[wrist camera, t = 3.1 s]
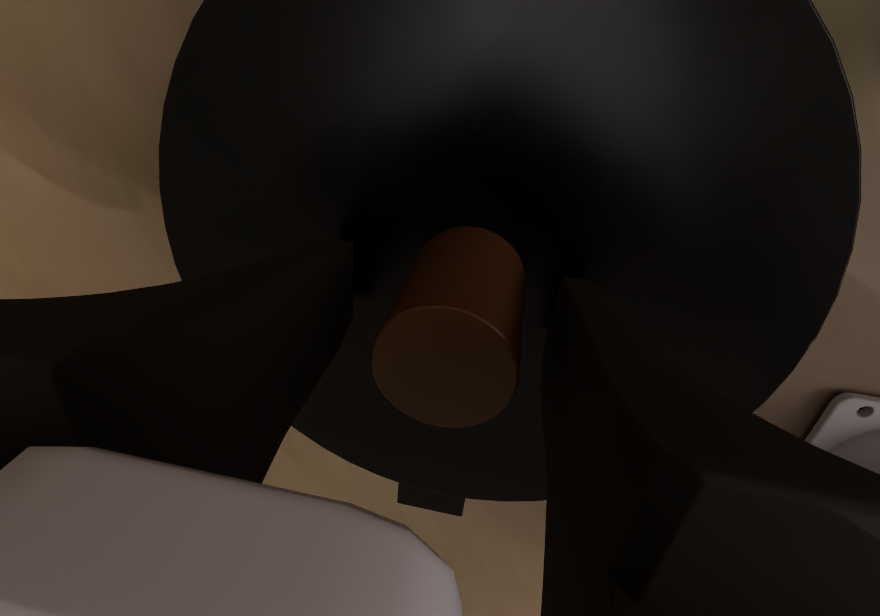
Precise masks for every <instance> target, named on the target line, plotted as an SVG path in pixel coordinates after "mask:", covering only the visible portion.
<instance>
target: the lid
mask: <svg viewBox="0 0 880 616" xmlns="http://www.w3.org/2000/svg"><path fill="white" fill-rule="evenodd" d="M159 181H160V195H161V202H162V208H163V215H164V222H165V228H166V232H167V236H168V239H169V243H170V247H171V250H172V254H173V258H174V262H175V265H176V267H177V270H178V272H179V275H180V277H181V280H182V281H184V280H189V279H193V278H198V277H202V276H206V275H210V274H213V273H217V272H221V271H224V270H227V269H230V268H234V267H237V266H240V265H243V264H246V263H250V262H253V261H256V260H259V259H262V258H265V257H268V256H271V255H274V254H276V253H279V252H282V251H285V250H288V249H291V248H293V247H296V246H299V245H302V244H305V243H308V242H311V241H314V240H318V239H322V238H335V239H341V240H347V241H353V319H352V321H351V323H350V326H349V328H348V330H347V333H346V335H345V337H344V340H343V342H342V344H341V346H340V348H339V350H338V352H337V354H336V355H335V357H334V358H333V360H332V362H331V363H330V365H329V366H328V368H327V369H326V371H325V373H324V374H323V376H322V377H321V379H320V380H319V382H318V384H317V385H316V387H315V388H314V390H313V391H312V393H311V394H310V396H309V397H308V399H307V401H306V402H305V404H304V405H303V407H302V408H301V410H300V411H299V413H298V415H297V416H296V418H295V419H294V421H293V423H292V424H291V426H293V427H294V428H295V429H297V430H298V431H300V432H301V433H302V434H304V435H305V436H307V437H308V438H310V439H311V440H313V441H314V442H316V443H317V444H319V445H320V446H322V447H323V448H325V449H327V450H329V451H330V452H332V453H334V454H336V455H338V456H339V457H341V458H343V459H345V460H346V461H348V462H350V463H352V464H355V465H357V466H359V467H361V468H364V469H366V470H368V471H370V472H372V473H375V474H377V475H379V476H382V477H385V478H388V479H391V480H394V481H396V482H399V483H402V484H405V485H408V486H412V487H415V488H419V489H423V490H427V491H431V492H435V493H439V494H445V495H451V496H457V497H463V498H469V499H479V500H492V501H542V500H547V473H546V458H545V445H544V432H543V419H542V405H541V390H540V385H541V368H542V355H543V348H544V344H545V340H546V336H547V332H548V328H549V324H550V320H551V316H552V312H553V308H554V304H555V301H556V297H557V293H558V289H559V285H560V281H561V277H562V276H567V277H574V278H580V279H586V280H590V281H592V282H593V283H594V284H595V285H596V286H597V287H598V288H599V289H600V290H601V292H602V293H603V294H604V295H605V296H606V297H607V298H608V299H609V300H610V301H611V302H612V303H613V305H614V306H615V307H616V308H617V309H618V310H619V311H620V312H621V313H622V314H623V315H624V316H625V317H626V318H627V319H628V320H629V321H630V322H631V323H632V324H633V325H634V326H635V327H636V328H637V329H638V330H639V331H640V332H641V333H642V334H643V335H644V336H645V337H646V338H647V339H649V340H650V341H651V342H652V343H653V344H654V345H655V346H656V347H658V348H659V349H660V350H661V351H662V352H663V353H664V354H666V355H667V356H668V357H669V358H671V359H672V360H673V361H674V362H676V363H677V364H678V365H680V366H681V367H682V368H684V369H685V370H686V371H688V372H689V373H691V374H692V375H693V376H695V377H696V378H697V379H699V380H700V381H702V382H703V383H704V384H706V385H707V386H709V387H710V388H712V389H713V390H715V391H716V392H718V393H720V394H721V395H723V396H725V397H726V398H728V399H730V400H731V401H733V402H734V403H736V404H738V405H739V406H741V407H743V408H744V409H746V410H748V411H749V412H751V413H753V412H754V411H755V410H756V409H757V408H759V407H760V406H761V405H762V404H763V403H764V402H765V401H766V400H767V399H768V398H769V397H770V396H771V395H772V394H773V392H774V391H775V390H776V389H777V388H778V387H779V386H780V385H781V384H782V382H783V381H784V380H785V379H786V378H787V377H788V376H789V375H790V374H791V372H792V371H793V370H794V369H795V367H796V366H797V364H798V363H799V361H800V360H801V358H802V357H803V355H804V354H805V353H806V351H807V350H808V348H809V347H810V345H811V344H812V342H813V341H814V340H815V338H816V337H817V335H818V333H819V331H820V329H821V327H822V325H823V323H824V321H825V319H826V317H827V315H828V313H829V311H830V309H831V307H832V305H833V303H834V301H835V299H836V297H837V295H838V292H839V289H840V286H841V283H842V280H843V277H844V274H845V271H846V268H847V265H848V262H849V259H850V256H851V253H852V250H853V245H854V239H855V233H856V227H857V221H858V215H859V209H860V203H861V145H860V139H859V132H858V126H857V120H856V114H855V108H854V101H853V95H852V92H851V89H850V86H849V83H848V81H847V78H846V75H845V72H844V69H843V66H842V63H841V60H840V57H839V54H838V52H837V49H836V46H835V43H834V40H833V38H832V37H831V35H830V33H829V31H828V30H827V28H826V26H825V24H824V22H823V21H822V19H821V17H820V15H819V13H818V12H817V10H816V8H815V6H814V5H813V3H812V1H811V0H204V1H203V3H202V5H201V6H200V8H199V10H198V11H197V13H196V15H195V16H194V18H193V20H192V22H191V25H190V27H189V29H188V32H187V34H186V37H185V39H184V41H183V44H182V46H181V49H180V51H179V53H178V56H177V58H176V60H175V63H174V67H173V71H172V75H171V79H170V83H169V87H168V91H167V94H166V98H165V102H164V107H163V116H162V125H161V133H160V142H159Z"/></svg>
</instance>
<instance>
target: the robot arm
mask: <svg viewBox="0 0 880 616" xmlns="http://www.w3.org/2000/svg"><path fill="white" fill-rule="evenodd" d="M352 319H353V241H347V240H341V239H335V238H322V239H318V240H314V241H311V242H308V243H305V244H302V245H299V246H296V247H293V248H291V249H288V250H285V251H282V252H279V253H276V254H274V255H271V256H268V257H265V258H262V259H259V260H256V261H253V262H250V263H246V264H243V265H240V266H237V267H234V268H230V269H227V270H224V271H221V272H217V273H213V274H210V275H206V276H202V277H198V278H193V279H189V280H184V281H179V282H175V283H170V284H165V285H159V286H152V287H145V288H138V289H132V290H125V291H118V292H111V293H102V294H92V295H81V296H68V297H54V298H36V299H0V616H462V605H461V600H460V596H459V592H458V588H457V584H456V580H455V576H454V572H453V570H452V569H451V568H450V566H449V565H448V564H447V563H446V562H445V561H444V560H443V559H442V558H441V557H440V556H439V555H438V554H437V553H436V552H435V551H433V550H432V549H431V548H430V547H429V546H428V545H427V544H426V543H425V542H424V541H423V540H421V539H420V538H419V537H418V536H417V535H416V534H415V533H414V532H413V531H412V530H411V529H409V528H408V527H407V526H406V525H403V524H401V523H398V522H396V521H393V520H391V519H388V518H386V517H383V516H381V515H378V514H376V513H373V512H371V511H368V510H366V509H363V508H361V507H358V506H356V505H353V504H351V503H346V502H342V501H337V500H333V499H328V498H324V497H319V496H315V495H310V494H305V493H301V492H296V491H292V490H287V489H283V488H278V487H274V486H269V485H264V484H262V482H263V480H264V478H265V475H266V473H267V471H268V469H269V467H270V465H271V463H272V461H273V459H274V457H275V455H276V453H277V451H278V449H279V447H280V445H281V443H282V441H283V439H284V437H285V435H286V433H287V431H288V430H289V428H290V426H291V424H292V423H293V421H294V419H295V418H296V416H297V415H298V413H299V411H300V410H301V408H302V407H303V405H304V404H305V402H306V401H307V399H308V397H309V396H310V394H311V393H312V391H313V390H314V388H315V387H316V385H317V384H318V382H319V380H320V379H321V377H322V376H323V374H324V373H325V371H326V369H327V368H328V366H329V365H330V363H331V362H332V360H333V358H334V357H335V355H336V354H337V352H338V350H339V348H340V346H341V344H342V342H343V340H344V337H345V335H346V333H347V330H348V328H349V326H350V323H351V321H352ZM540 390H541V405H542V419H543V432H544V445H545V458H546V473H547V503H546V531H545V552H544V573H543V591H542V607H541V616H880V397H874V396H868V395H863V394H857V393H842V394H839V395H837V396H835V397H834V398H833V399H832V400H831V402H830V403H829V405H828V406H827V408H826V409H825V411H824V412H823V414H822V415H821V417H820V418H819V420H818V421H817V423H816V424H815V426H814V427H813V429H812V430H811V432H810V433H809V434H808V436H807V437H806V439H805V440H802V439H800V438H798V437H796V436H794V435H793V434H791V433H789V432H787V431H785V430H783V429H781V428H779V427H777V426H775V425H773V424H771V423H769V422H767V421H766V420H764V419H762V418H760V417H758V416H757V415H755V414H753V413H751V412H749V411H748V410H746V409H744V408H743V407H741V406H739V405H738V404H736V403H734V402H733V401H731V400H730V399H728V398H726V397H725V396H723V395H721V394H720V393H718V392H716V391H715V390H713V389H712V388H710V387H709V386H707V385H706V384H704V383H703V382H702V381H700V380H699V379H697V378H696V377H695V376H693V375H692V374H691V373H689V372H688V371H686V370H685V369H684V368H682V367H681V366H680V365H678V364H677V363H676V362H674V361H673V360H672V359H671V358H669V357H668V356H667V355H666V354H664V353H663V352H662V351H661V350H660V349H659V348H658V347H656V346H655V345H654V344H653V343H652V342H651V341H650V340H649V339H647V338H646V337H645V336H644V335H643V334H642V333H641V332H640V331H639V330H638V329H637V328H636V327H635V326H634V325H633V324H632V323H631V322H630V321H629V320H628V319H627V318H626V317H625V316H624V315H623V314H622V313H621V312H620V311H619V310H618V309H617V308H616V307H615V306H614V305H613V303H612V302H611V301H610V300H609V299H608V298H607V297H606V296H605V295H604V294H603V293H602V292H601V290H600V289H599V288H598V287H597V286H596V285H595V284H594V283H593V282H592V281H590V280H586V279H580V278H574V277H567V276H562V277H561V281H560V285H559V289H558V293H557V297H556V301H555V304H554V308H553V312H552V316H551V320H550V324H549V328H548V332H547V336H546V340H545V344H544V348H543V355H542V368H541V385H540ZM864 406H866V407H865V408H864V409H861V410H858V409H860V408H862V407H864Z"/></svg>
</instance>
